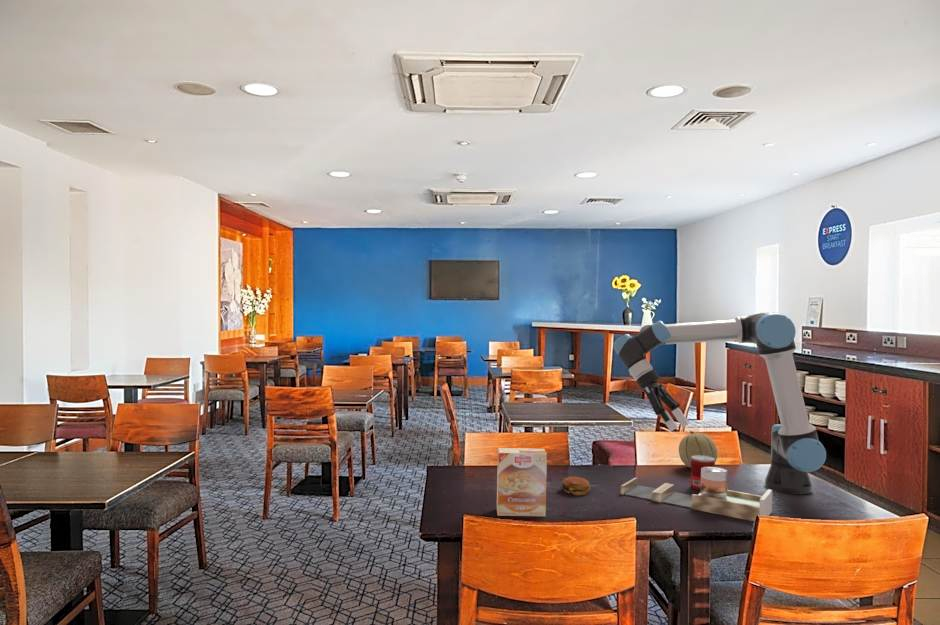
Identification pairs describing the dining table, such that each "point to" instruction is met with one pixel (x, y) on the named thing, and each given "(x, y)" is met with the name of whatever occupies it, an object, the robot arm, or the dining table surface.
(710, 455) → the cantaloupe
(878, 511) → the dining table surface
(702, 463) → the canned food
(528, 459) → the coffeecake box
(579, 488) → the burger
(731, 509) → the tray
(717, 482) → the tin
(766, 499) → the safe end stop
